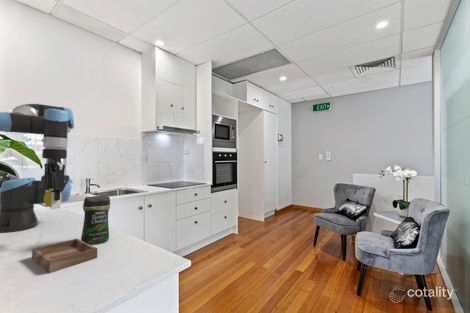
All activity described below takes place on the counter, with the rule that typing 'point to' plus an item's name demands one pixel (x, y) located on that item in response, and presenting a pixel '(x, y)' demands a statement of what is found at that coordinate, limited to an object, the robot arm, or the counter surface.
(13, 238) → the counter surface
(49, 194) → the lemon
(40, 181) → the robot arm
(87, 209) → the coffee jar
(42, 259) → the walnut tray
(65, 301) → the counter surface
